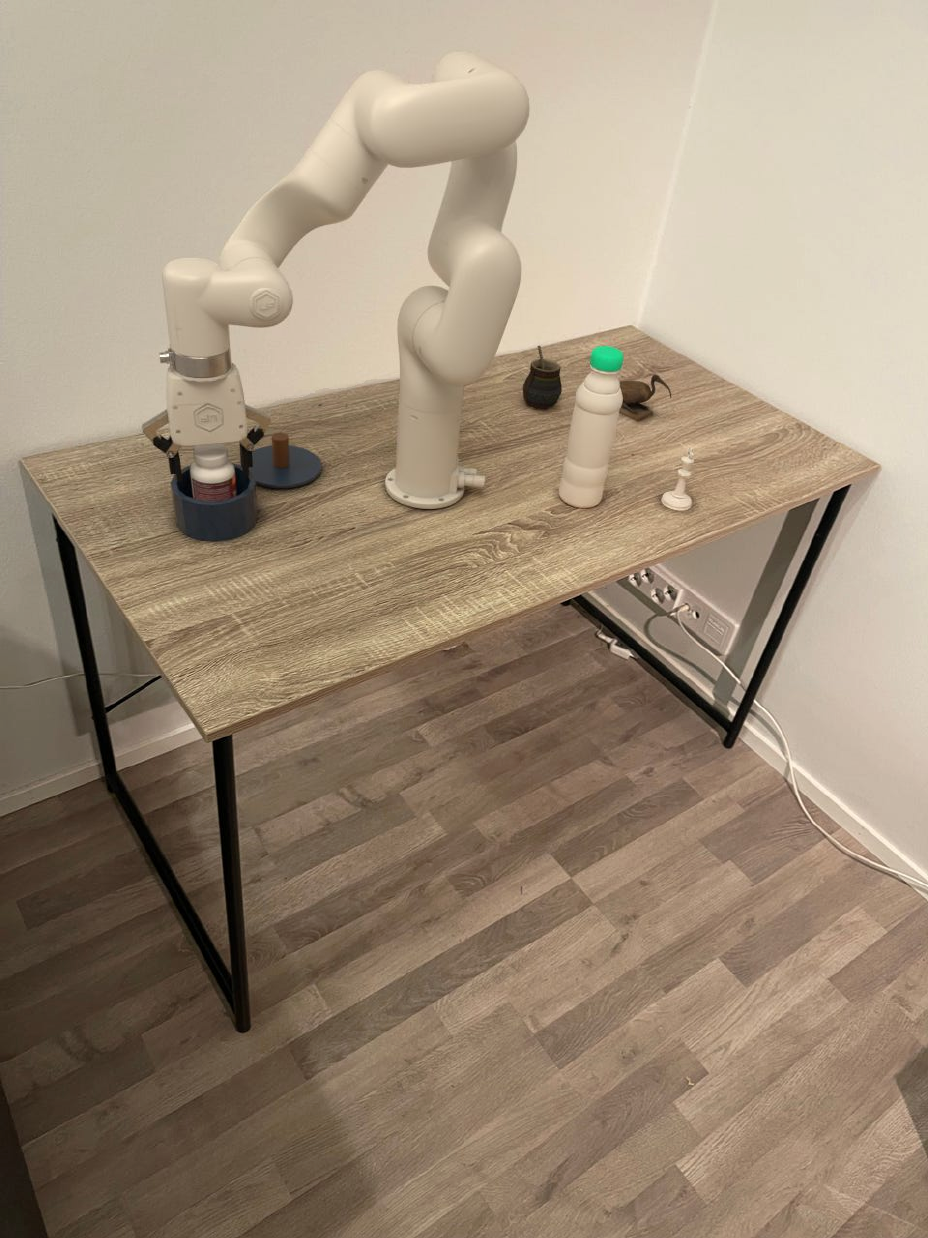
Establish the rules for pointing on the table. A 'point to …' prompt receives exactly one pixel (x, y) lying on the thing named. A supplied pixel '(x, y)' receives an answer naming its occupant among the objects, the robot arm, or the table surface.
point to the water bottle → (592, 430)
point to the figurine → (638, 397)
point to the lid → (284, 464)
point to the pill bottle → (212, 474)
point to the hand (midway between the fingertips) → (212, 474)
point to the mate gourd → (542, 384)
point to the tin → (215, 509)
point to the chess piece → (680, 486)
